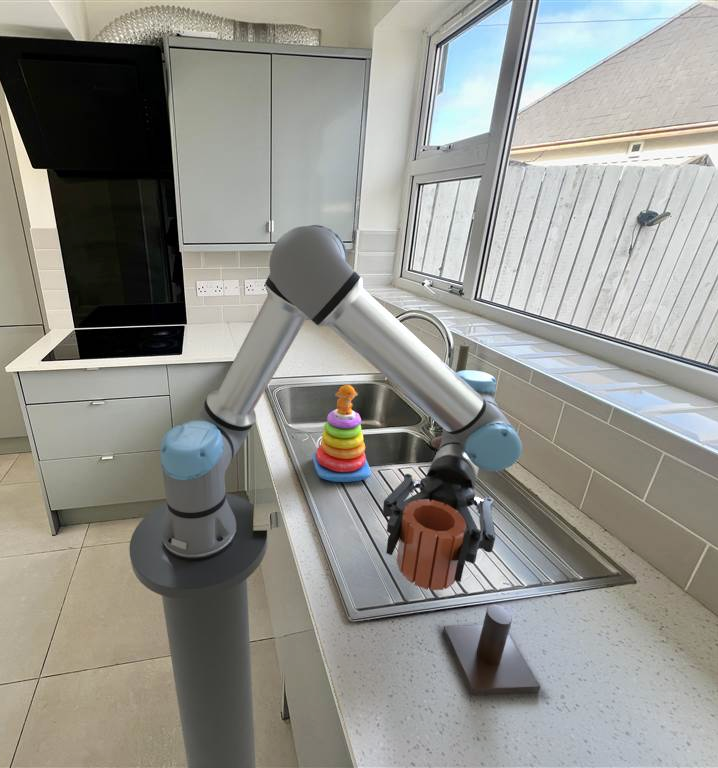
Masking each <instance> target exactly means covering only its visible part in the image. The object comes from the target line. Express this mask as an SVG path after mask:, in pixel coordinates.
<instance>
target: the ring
mask: <svg viewBox="0 0 718 768" xmlns="http://www.w3.org/2000/svg"><path fill="white" fill-rule="evenodd" d="M465 528H466V523H465V520H464V518H463V517H462V515H461V514H460V513H458V511H457V510H455V509H454V508H452V507H451V506H449V505H445V506H444V503H442V502H438V501H435V500H431V501H430V500H429V499H420V500H417V501H416V500H414V501H412V502H410V503H408V504H407V506H405V508H404V511H403V516H402V524H401V532H400V538H399V540H398V547H397V556H396V565H397V567H398V570H399V573H400V574H401V575H402V576H403V577H404V578H405V579H406V580H407V581H409V583H411V584H414V586H416V587H418V588H422V589H424V590H427V591H428V590H430V591H444V590H447V589H448V588H449V587H451V586H453V585H454V584H455V582H456V580H454V578H455V573H456V568H457V563H458V559H459V555H460V550H461V546H462V543H463V539H464V534H465Z"/></svg>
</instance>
